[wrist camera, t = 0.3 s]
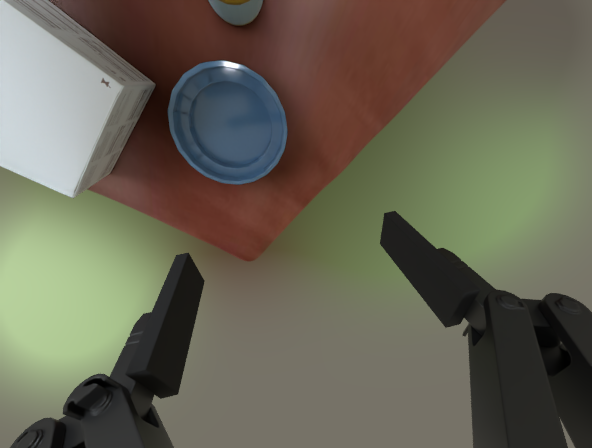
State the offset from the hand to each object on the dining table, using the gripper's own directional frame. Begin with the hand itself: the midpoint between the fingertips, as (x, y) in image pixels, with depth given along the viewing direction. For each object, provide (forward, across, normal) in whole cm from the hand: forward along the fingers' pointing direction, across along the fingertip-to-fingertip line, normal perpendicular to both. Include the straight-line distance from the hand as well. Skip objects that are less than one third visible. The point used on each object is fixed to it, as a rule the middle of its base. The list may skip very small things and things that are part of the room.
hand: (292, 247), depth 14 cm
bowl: (+27, -5, +4) cm, 28 cm away
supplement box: (+28, -24, +10) cm, 38 cm away
